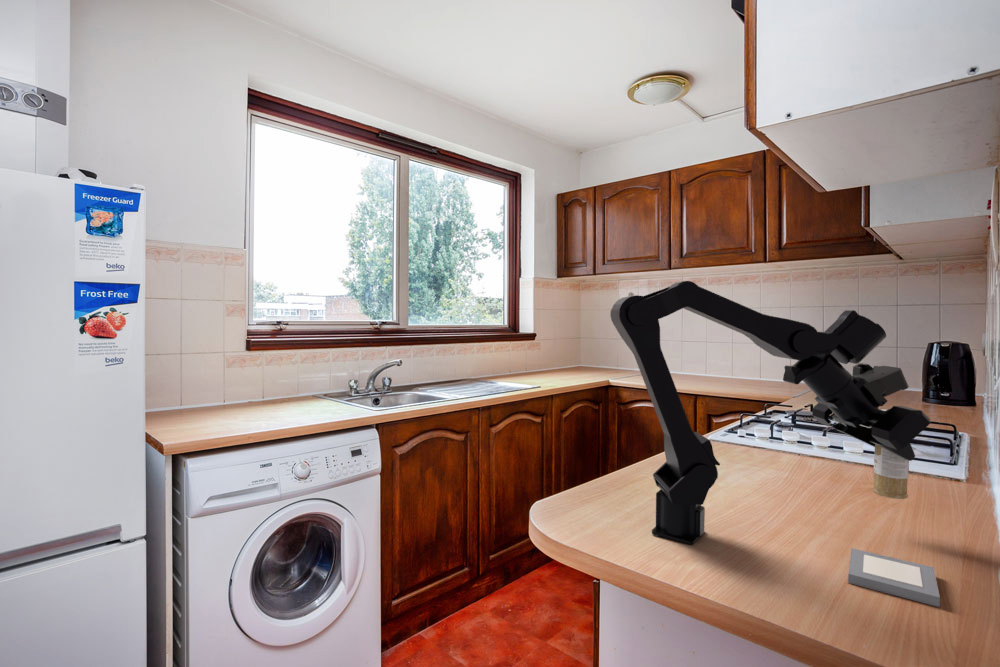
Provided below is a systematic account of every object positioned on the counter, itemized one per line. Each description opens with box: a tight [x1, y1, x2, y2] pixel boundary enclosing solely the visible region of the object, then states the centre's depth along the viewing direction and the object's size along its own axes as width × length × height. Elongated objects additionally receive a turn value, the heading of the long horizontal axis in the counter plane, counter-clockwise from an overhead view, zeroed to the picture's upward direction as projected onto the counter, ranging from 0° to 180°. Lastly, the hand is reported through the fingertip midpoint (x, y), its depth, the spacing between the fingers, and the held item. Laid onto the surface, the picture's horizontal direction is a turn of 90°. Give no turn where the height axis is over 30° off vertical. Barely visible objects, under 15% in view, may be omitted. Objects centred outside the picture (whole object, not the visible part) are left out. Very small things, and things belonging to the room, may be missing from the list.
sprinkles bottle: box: [872, 409, 910, 500], centre depth 79 cm, size 5×5×13 cm
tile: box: [847, 547, 941, 608], centre depth 66 cm, size 9×9×1 cm
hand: (900, 454), depth 79 cm, fingers closed on sprinkles bottle, 4 cm apart
